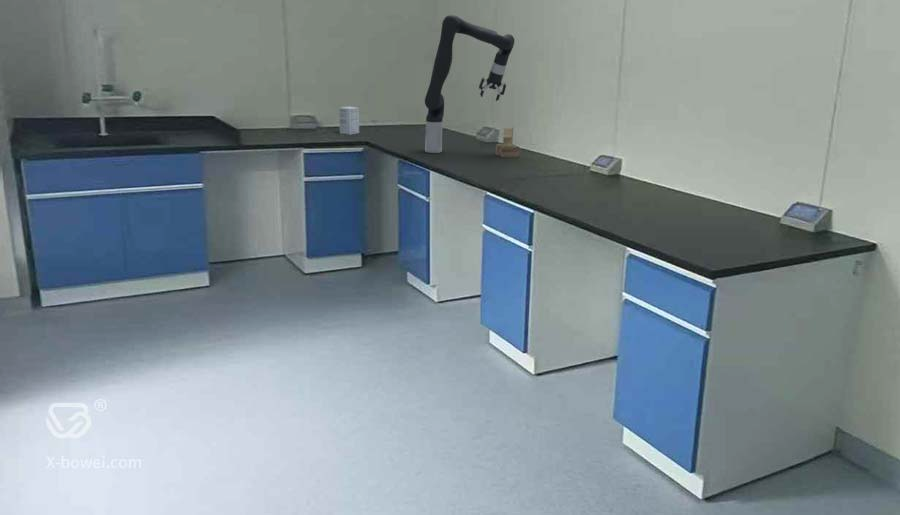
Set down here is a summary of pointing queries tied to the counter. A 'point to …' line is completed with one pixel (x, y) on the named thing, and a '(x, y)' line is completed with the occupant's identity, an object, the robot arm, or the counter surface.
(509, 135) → the oak block
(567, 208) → the counter surface
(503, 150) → the walnut base
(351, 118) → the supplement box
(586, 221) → the counter surface
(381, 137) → the counter surface
